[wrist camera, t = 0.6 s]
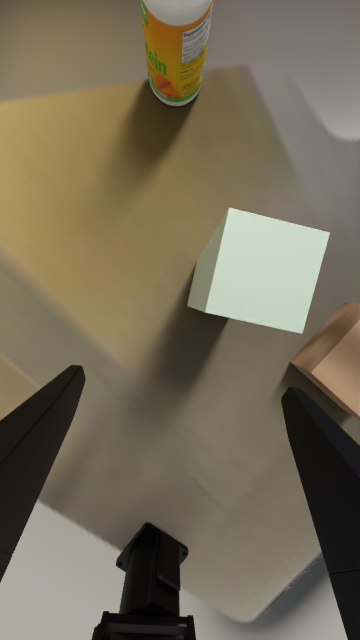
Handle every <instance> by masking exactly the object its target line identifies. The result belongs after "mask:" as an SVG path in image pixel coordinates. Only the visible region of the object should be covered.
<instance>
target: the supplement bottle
mask: <svg viewBox="0 0 360 640" xmlns="http://www.w3.org/2000/svg"><path fill="white" fill-rule="evenodd" d="M140 1H141V10H142V19H143V28H144V38H145V47H146V57H147V67H148V76H149V82H150V85H151V88H152V90H153V92H154V94H155V95H156V96H157V97H158V98H159V99H160V100H161V101H162V102H164V103H166V104H168V105H171V106H182V105H185V104H187V103H189V102H190V101H192V100H193V99H194V98H195V97H196V95H197V94H198V92H199V90H200V87H201V84H202V79H203V73H204V66H205V58H206V50H207V43H208V36H209V28H210V20H211V13H212V6H213V0H140Z"/></svg>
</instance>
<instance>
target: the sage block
mask: <svg viewBox="0 0 360 640" xmlns="http://www.w3.org/2000/svg"><path fill="white" fill-rule="evenodd" d="M329 234H330V233H329V232H325V231H321V230H317V229H313V228H309V227H305V226H301V225H297V224H293V223H289V222H285V221H281V220H277V219H273V218H269V217H265V216H261V215H257V214H253V213H249V212H245V211H241V210H237V209H233V208H229V209H228V210H227V212H226V214H225V215H224V217H223V219H222V220H221V222H220V224H219V225H218V227H217V229H216V230H215V232H214V234H213V235H212V237H211V239H210V240H209V242H208V244H207V245H206V247H205V249H204V250H203V252H202V254H201V255H200V257H199V258H198V260H197V263H196V268H195V272H194V277H193V281H192V286H191V290H190V295H189V299H188V304H187V306H189V307H191V308H194V309H197V310H200V311H203V312H206V313H210V314H215V315H220V316H224V317H229V318H233V319H238V320H242V321H247V322H251V323H256V324H260V325H265V326H270V327H274V328H279V329H283V330H288V331H292V332H297V333H301V334H302V333H303V329H304V326H305V322H306V318H307V315H308V311H309V307H310V304H311V300H312V296H313V293H314V289H315V285H316V282H317V278H318V274H319V271H320V267H321V263H322V259H323V256H324V252H325V248H326V245H327V241H328V237H329Z"/></svg>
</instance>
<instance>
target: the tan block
mask: <svg viewBox="0 0 360 640" xmlns="http://www.w3.org/2000/svg"><path fill="white" fill-rule="evenodd" d="M290 363H292V364H293V365H294V366H295V367H296V368H297V369H298V370H299V371H301V372H302V373H303V374H304V375H305V376H306V377H307V378H308V379H309V380H311V381H312V382H313V383H314V384H315V385H316V386H317V387H318V388H319V389H321V390H322V391H323V392H324V393H325V394H326V395H327V396H328V397H330V398H331V399H332V400H333V401H334V402H335V403H336V404H337V405H338V406H340V407H341V408H342V409H343V410H344V411H346V412H348V413H349V414H351V415H352V416H354V417H355V418H357V419H359V420H360V303H343V305H342V306H341V307H340V308H339V309H338V310H337V311H336V312H335V313H334V314H333V315H332V317H331V318H330V319H329V320H328V321H327V322H326V323H325V324H324V325H323V326H322V327H321V329H320V330H319V331H318V332H317V333H316V334H315V335H314V336H313V337H312V338H311V339H310V341H309V342H308V343H307V344H306V345H305V346H304V347H303V348H302V349H301V350H300V351H299V353H298V354H297V355H296V356H295V357H294V358H293V359H292V360H291V361H290Z"/></svg>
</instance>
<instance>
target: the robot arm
mask: <svg viewBox="0 0 360 640" xmlns="http://www.w3.org/2000/svg"><path fill="white" fill-rule="evenodd" d="M84 384H85V374H84V370H83V367H82V366H80V365H71V366H69V367H68V368H67V369H66V370H64V371H63V372H62V373H60V374H59V375H58V376H57V377H55V378H54V379H53V380H52V381H50V382H49V383H48V384H46V385H45V386H44V387H43V388H41V389H40V390H39V391H37V392H36V393H35V394H34V395H32V396H31V397H30V398H29V399H27V400H26V401H25V402H23V403H22V404H21V405H20V406H18V407H17V408H16V409H15V410H13V411H12V412H11V413H9V414H8V415H7V416H6V417H4V418H3V419H2V420H0V582H1V580H2V577H3V575H4V573H5V571H6V569H7V566H8V564H9V562H10V560H11V557H12V554H13V553H14V550H15V548H16V546H17V543H18V541H19V539H20V537H21V535H22V532H23V530H24V528H25V526H26V523H27V521H28V519H29V517H30V514H31V512H32V510H33V508H34V505H35V503H36V501H37V499H38V497H39V494H40V492H41V490H42V488H43V485H44V483H45V481H46V479H47V476H48V474H49V472H50V470H51V467H52V465H53V463H54V461H55V458H56V456H57V454H58V452H59V449H60V447H61V445H62V443H63V440H64V438H65V436H66V434H67V431H68V429H69V427H70V425H71V422H72V420H73V418H74V415H75V412H76V409H77V406H78V402H79V399H80V396H81V393H82V390H83V387H84ZM281 403H282V408H283V413H284V419H285V424H286V429H287V434H288V438H289V442H290V445H291V449H292V452H293V455H294V459H295V462H296V466H297V469H298V472H299V476H300V479H301V482H302V486H303V489H304V493H305V496H306V499H307V503H308V506H309V510H310V513H311V516H312V520H313V523H314V526H315V530H316V533H317V537H318V540H319V543H320V547H321V550H322V553H323V557H324V560H325V564H326V567H327V570H328V573H329V577H330V581H331V584H332V588H333V591H334V595H335V598H336V601H337V605H338V608H339V611H340V615H341V618H342V622H343V625H344V628H345V631H346V635H347V638H348V640H360V445H359V444H358V443H357V442H355V441H354V440H353V439H352V438H351V437H350V436H349V435H348V434H347V433H346V432H345V431H344V430H343V429H342V428H341V427H340V426H339V425H338V424H337V423H336V422H335V421H334V420H333V419H332V418H331V417H330V416H329V415H328V414H327V413H326V412H324V411H323V410H322V409H321V408H320V407H319V406H318V405H317V404H316V403H315V402H314V401H313V400H312V399H311V398H310V397H309V396H308V395H307V394H306V393H305V392H304V391H303V390H302V389H300V388H298V387H289V388H288V389H287V390H286V392H285V393H284V395H283V396H282V399H281ZM187 556H188V548H187V547H186V546H184V545H183V544H181V543H180V542H178V541H177V540H175V539H174V538H172V537H171V536H169V535H167V534H166V533H164V532H163V531H161V530H160V529H158V528H157V527H155V526H154V525H152V524H151V523H146V524H145V525H144V526H143V527H142V528H141V530H140V531H139V532H138V533H137V534H136V536H135V537H134V538H133V539H132V541H131V542H130V543H129V544H128V546H127V547H126V548H125V549H124V551H123V552H122V553H121V554H120V556H119V557H118V558H117V562H116V566H117V567H118V568H120V569H122V570H123V571H125V572H126V575H125V581H124V587H123V593H122V598H121V604H120V611H119V613H118V614H117V613H109V611H104V612H103V616H102V619H101V623H100V624H98V626H97V627H95V628H94V632H93V636H92V640H196V636H195V627H194V619H193V615H188V616H187V617H181V616H180V612H179V610H180V608H179V591H180V564H181V563H182V562H183V561H184V560H185V558H186V557H187Z"/></svg>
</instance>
